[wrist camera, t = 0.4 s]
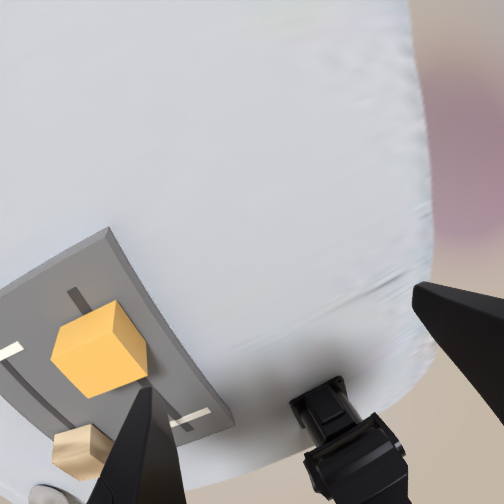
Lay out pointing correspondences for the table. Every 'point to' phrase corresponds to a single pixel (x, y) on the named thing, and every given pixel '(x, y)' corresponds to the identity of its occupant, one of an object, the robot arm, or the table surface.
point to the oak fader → (81, 452)
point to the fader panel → (73, 307)
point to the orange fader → (101, 351)
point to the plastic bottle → (46, 496)
